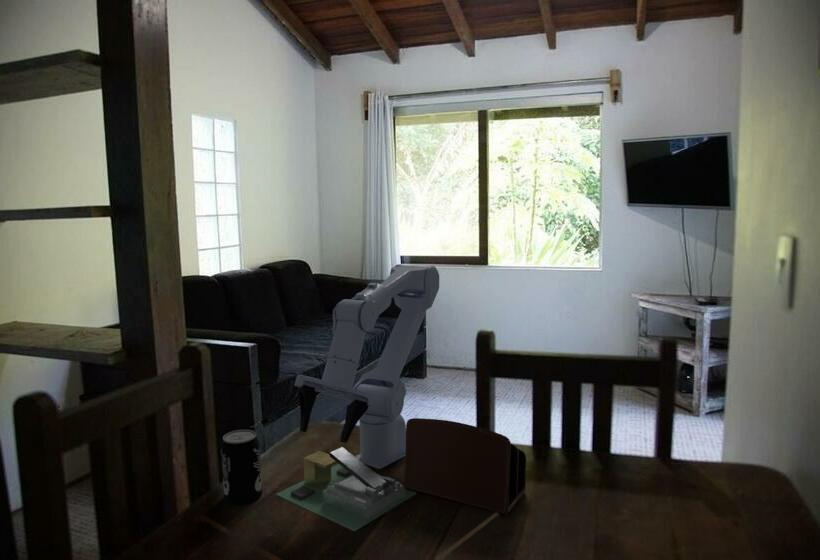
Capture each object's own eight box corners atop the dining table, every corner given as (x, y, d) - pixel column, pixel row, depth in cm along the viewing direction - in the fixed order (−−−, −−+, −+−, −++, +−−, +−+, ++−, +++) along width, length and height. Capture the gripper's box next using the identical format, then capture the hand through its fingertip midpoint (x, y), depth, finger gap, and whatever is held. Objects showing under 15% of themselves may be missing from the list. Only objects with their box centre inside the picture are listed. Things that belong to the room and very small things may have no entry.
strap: (341, 451, 114) (342, 446, 113) (388, 488, 107) (389, 483, 107) (329, 456, 111) (330, 452, 111) (376, 495, 105) (377, 490, 104)
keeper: (320, 475, 119) (319, 450, 118) (341, 484, 116) (340, 458, 115) (304, 483, 116) (303, 457, 115) (325, 492, 112) (324, 466, 112)
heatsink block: (363, 482, 116) (362, 460, 115) (404, 498, 110) (404, 475, 109) (323, 503, 109) (322, 479, 108) (365, 522, 102) (364, 497, 102)
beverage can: (252, 510, 108) (248, 444, 106) (217, 506, 109) (213, 441, 108) (268, 492, 114) (264, 429, 113) (235, 489, 116) (231, 427, 114)
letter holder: (507, 516, 104) (509, 434, 102) (403, 489, 113) (403, 414, 111) (526, 492, 112) (528, 416, 111) (427, 470, 122) (429, 399, 120)
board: (339, 466, 124) (339, 460, 124) (417, 496, 112) (417, 489, 112) (275, 497, 112) (275, 491, 112) (354, 534, 100) (354, 527, 99)
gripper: (311, 348, 108) (289, 426, 103) (386, 371, 112) (368, 447, 108) (300, 352, 114) (279, 426, 110) (372, 374, 119) (355, 446, 114)
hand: (323, 436), depth 109 cm, fingers open, 7 cm apart
